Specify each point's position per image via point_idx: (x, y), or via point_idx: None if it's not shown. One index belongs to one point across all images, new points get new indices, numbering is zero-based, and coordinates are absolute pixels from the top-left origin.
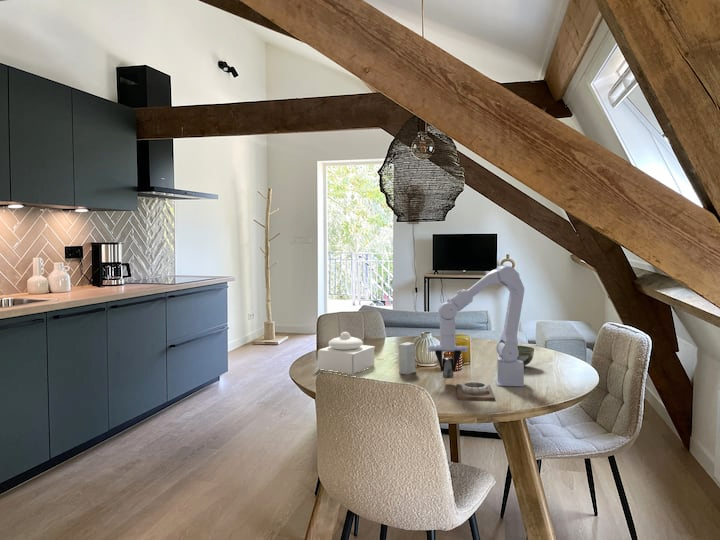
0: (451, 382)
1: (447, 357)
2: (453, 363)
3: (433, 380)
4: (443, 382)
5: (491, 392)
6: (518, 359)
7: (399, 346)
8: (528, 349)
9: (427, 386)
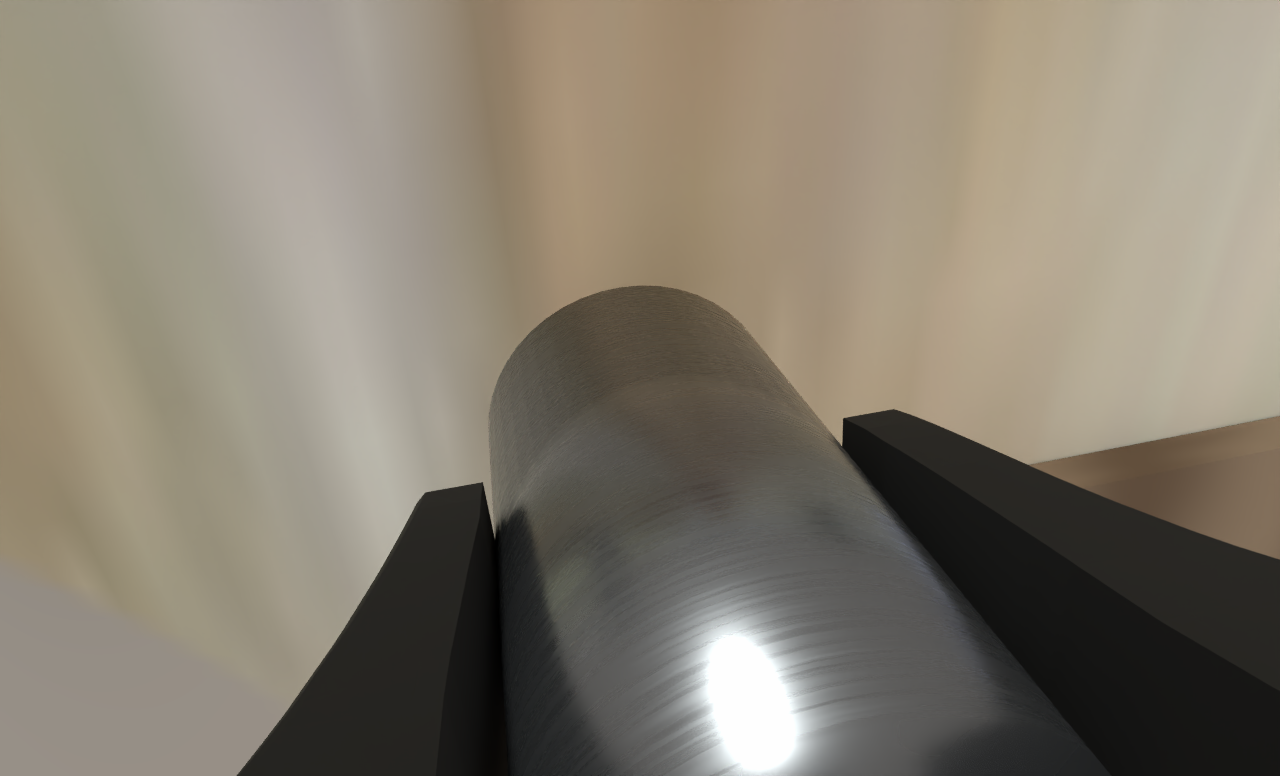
0: (675, 212)
1: (833, 732)
2: (982, 527)
3: (168, 107)
4: (486, 256)
5: None
6: None
7: None
8: None
9: (212, 638)
